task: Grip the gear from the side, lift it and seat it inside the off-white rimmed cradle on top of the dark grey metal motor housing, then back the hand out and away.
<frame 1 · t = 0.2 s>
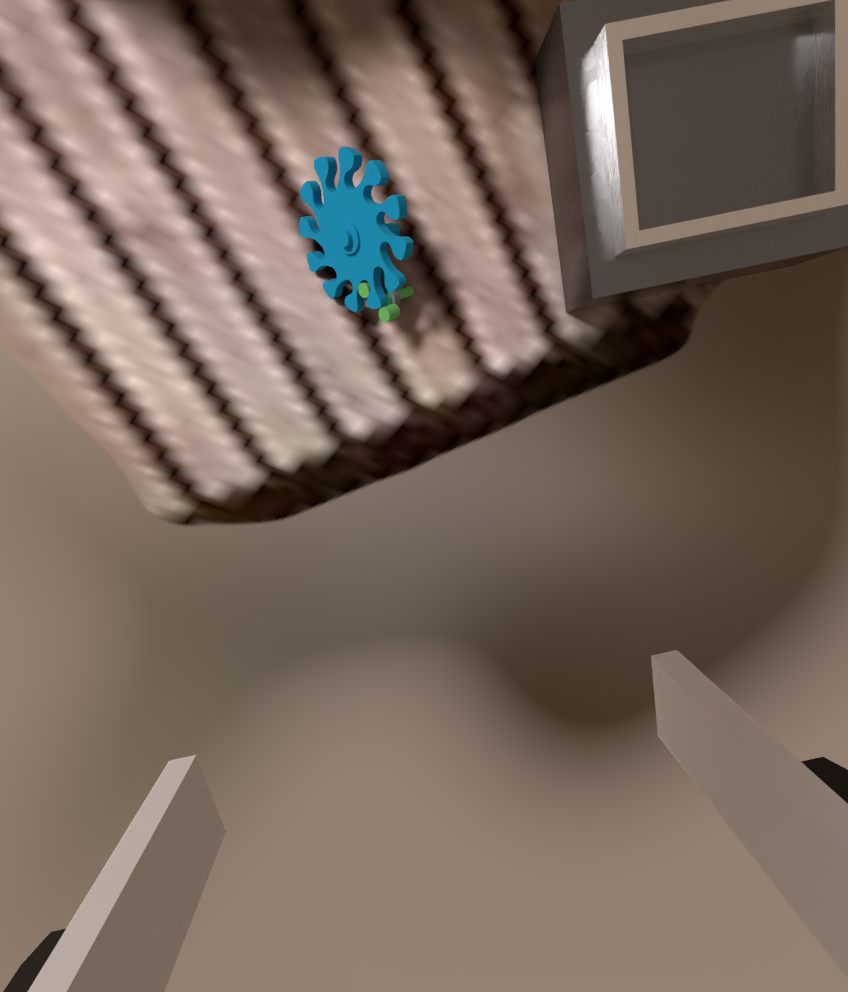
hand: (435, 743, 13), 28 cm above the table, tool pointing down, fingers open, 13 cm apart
gear: (360, 261, 35), on the table
motor housing: (672, 169, 35), on the table
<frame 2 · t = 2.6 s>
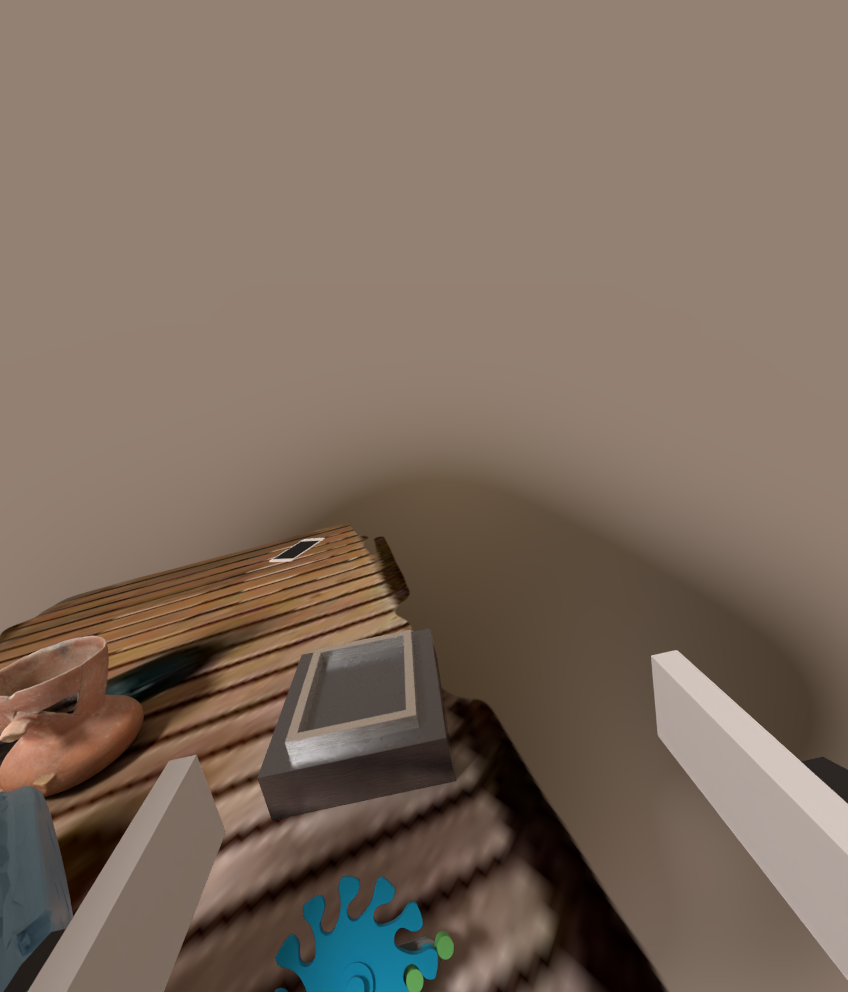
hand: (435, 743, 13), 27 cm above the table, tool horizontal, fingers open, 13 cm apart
ceramic jug: (89, 758, 57), on the table
cell phone: (298, 551, 125), on the table
motor housing: (370, 724, 52), on the table
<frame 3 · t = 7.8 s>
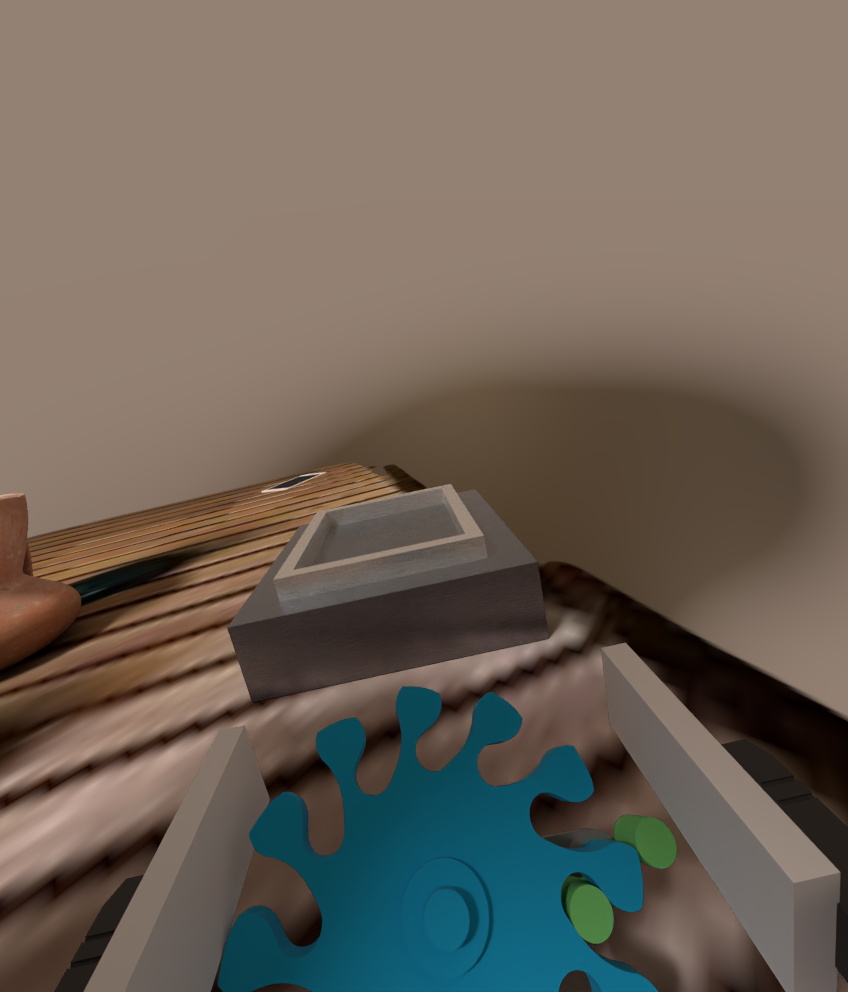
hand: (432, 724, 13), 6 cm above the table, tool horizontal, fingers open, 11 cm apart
ceramic jug: (0, 659, 40), on the table
cell phone: (296, 484, 109), on the table
motor housing: (399, 595, 36), on the table
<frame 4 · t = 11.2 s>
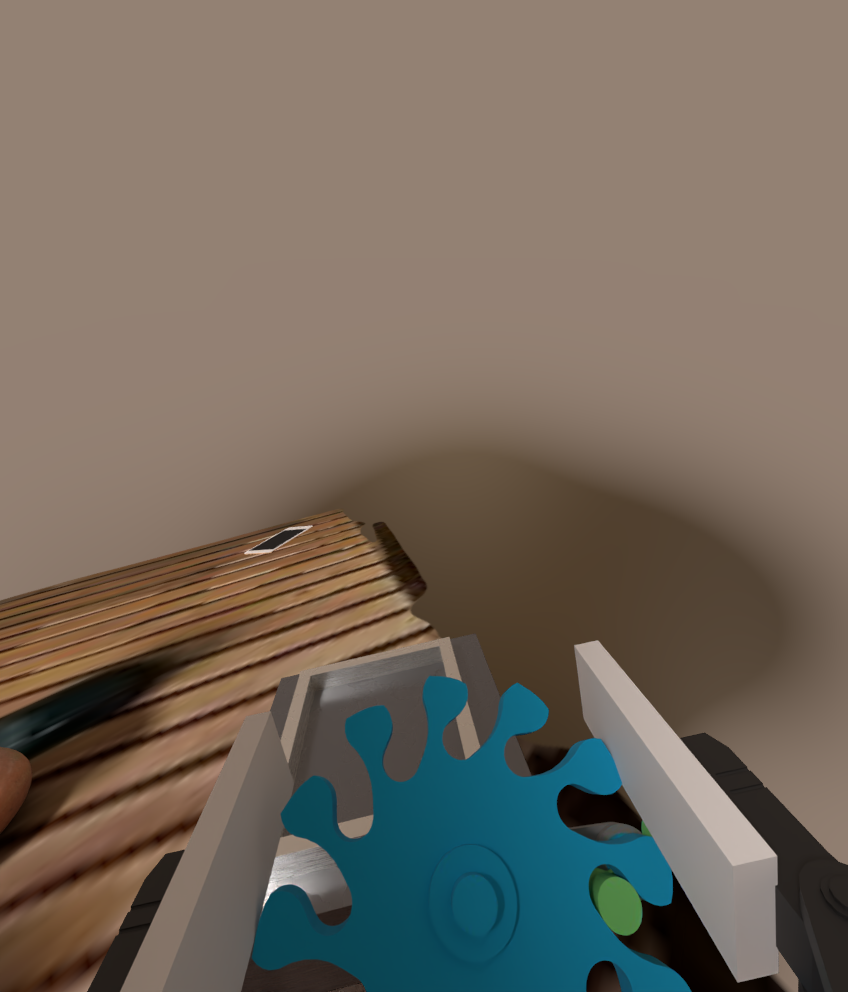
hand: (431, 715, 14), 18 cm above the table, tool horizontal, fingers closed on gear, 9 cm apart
cell phone: (281, 541, 104), on the table
motor housing: (394, 795, 32), on the table
when the fingers open (12 cm above the table, at t = 14.6 s): gear drops 1 cm, resting on motor housing.
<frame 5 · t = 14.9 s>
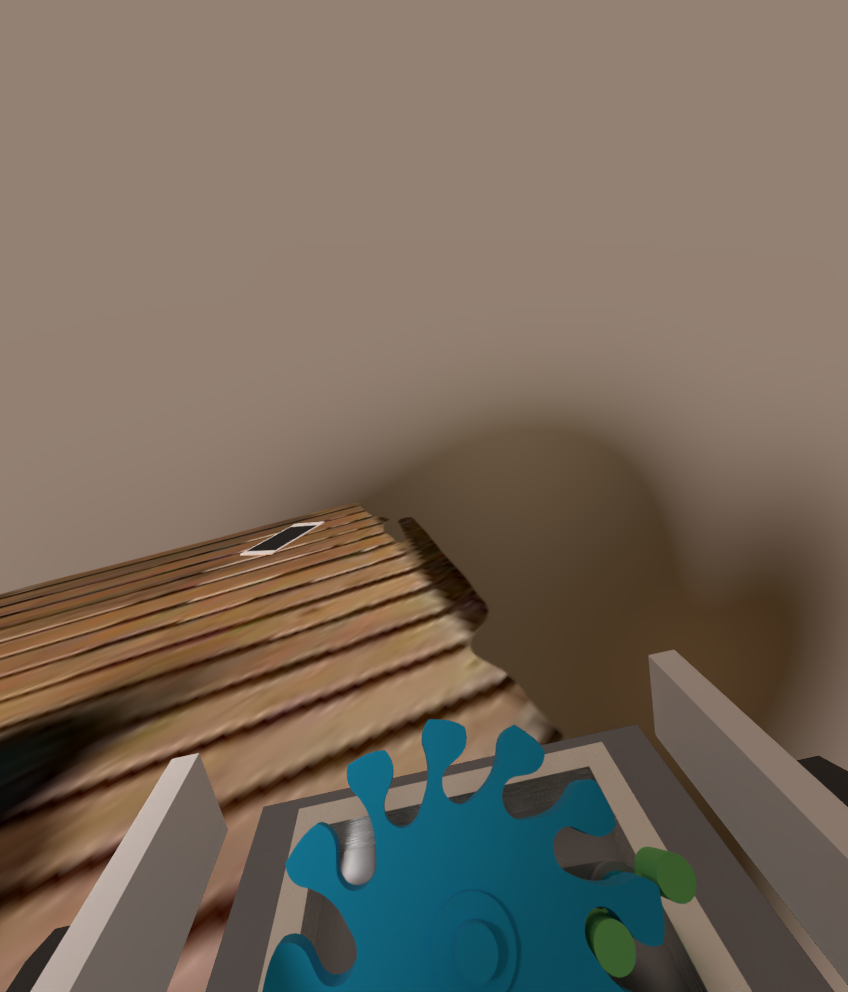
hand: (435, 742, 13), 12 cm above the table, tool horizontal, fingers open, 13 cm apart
cell phone: (286, 540, 85), on the table
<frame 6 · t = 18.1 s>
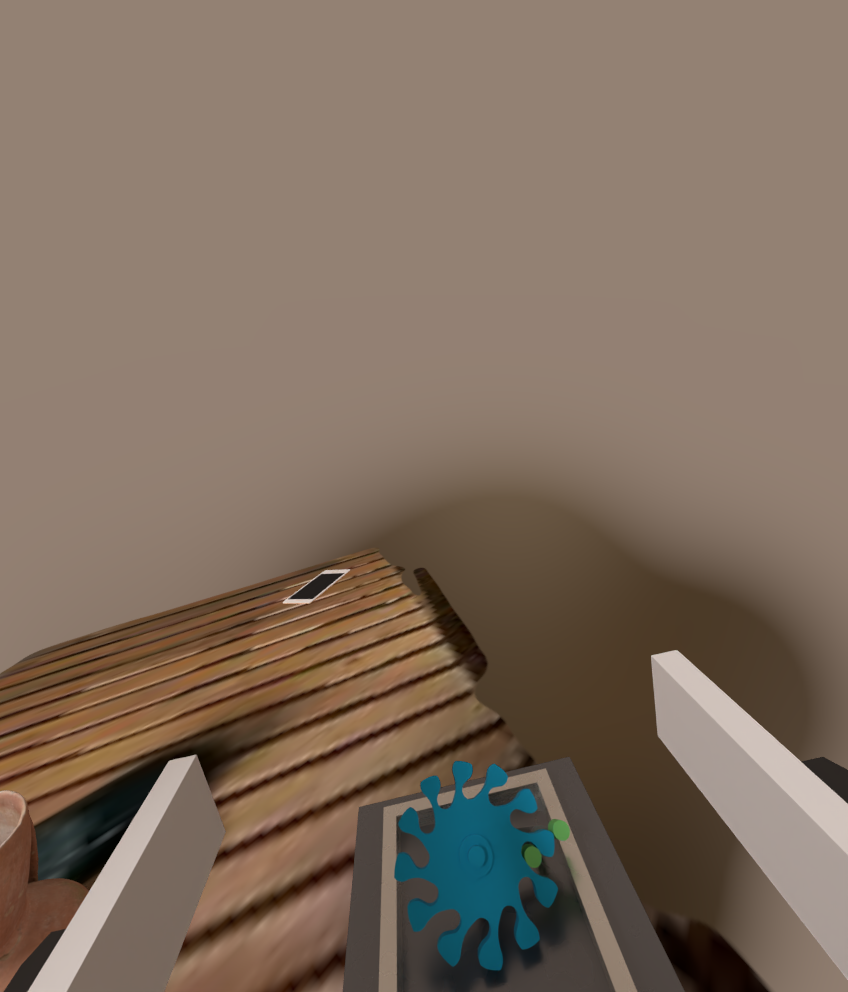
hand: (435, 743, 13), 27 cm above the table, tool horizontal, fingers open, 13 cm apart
cell phone: (319, 588, 101), on the table
gear: (494, 899, 28), point 5 cm above the table, touching motor housing
motor housing: (504, 977, 28), on the table
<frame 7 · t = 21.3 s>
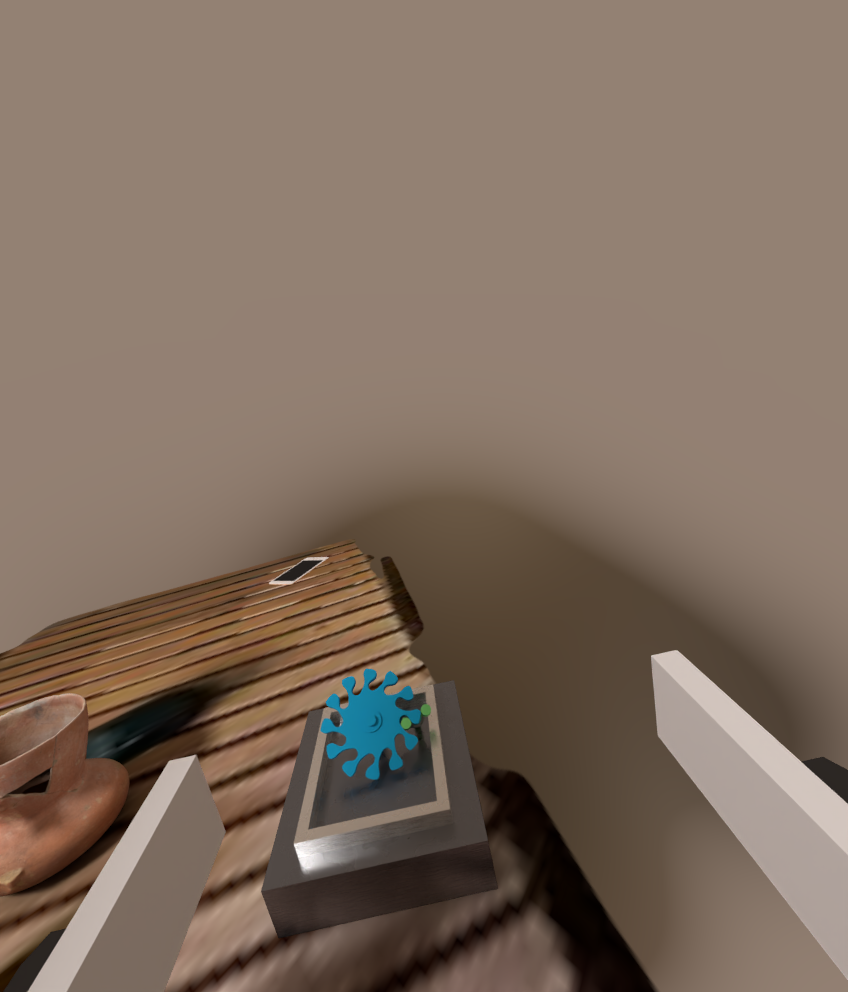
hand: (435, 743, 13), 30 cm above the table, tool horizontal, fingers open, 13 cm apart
ceramic jug: (66, 835, 49), on the table
cell phone: (300, 572, 118), on the table
gear: (385, 752, 46), point 5 cm above the table, touching motor housing
motor housing: (389, 801, 45), on the table
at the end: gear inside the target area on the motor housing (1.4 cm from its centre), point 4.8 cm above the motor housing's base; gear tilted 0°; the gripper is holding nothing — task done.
